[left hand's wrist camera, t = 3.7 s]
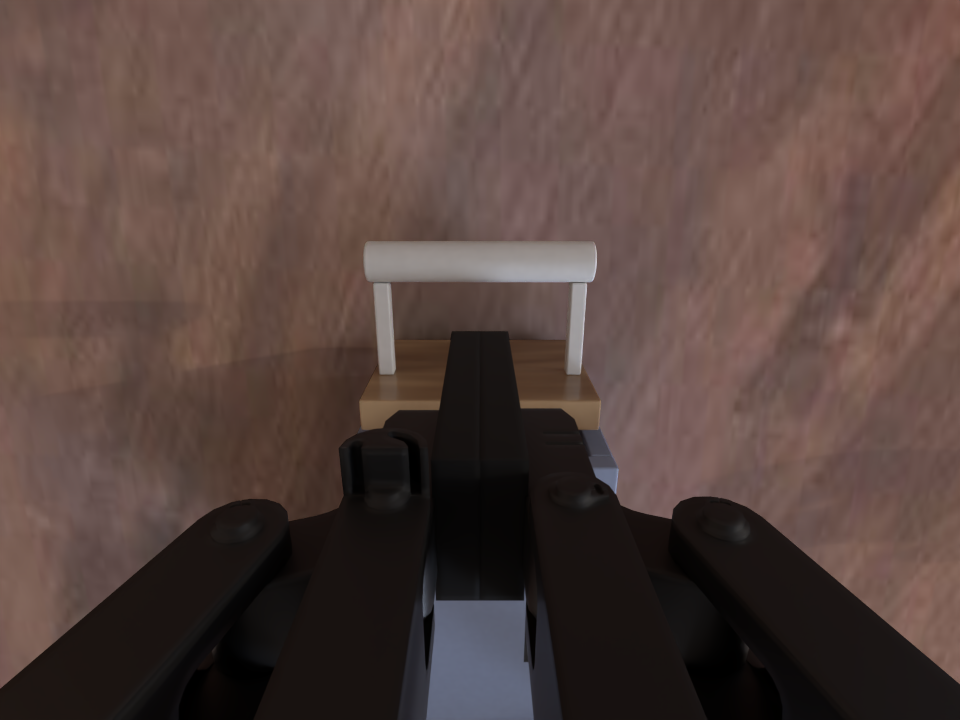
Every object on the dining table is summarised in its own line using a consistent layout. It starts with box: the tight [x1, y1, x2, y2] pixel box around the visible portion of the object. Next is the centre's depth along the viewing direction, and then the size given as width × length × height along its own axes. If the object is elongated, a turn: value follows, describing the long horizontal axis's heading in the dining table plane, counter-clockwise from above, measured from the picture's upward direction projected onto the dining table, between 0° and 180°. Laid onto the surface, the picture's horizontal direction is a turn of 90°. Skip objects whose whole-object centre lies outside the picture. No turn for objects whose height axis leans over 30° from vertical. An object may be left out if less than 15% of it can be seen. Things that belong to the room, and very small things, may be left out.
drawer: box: [359, 241, 601, 430], centre depth 24 cm, size 21×9×7 cm, turn 0°
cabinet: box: [357, 426, 618, 720], centre depth 26 cm, size 16×10×9 cm, turn 0°
